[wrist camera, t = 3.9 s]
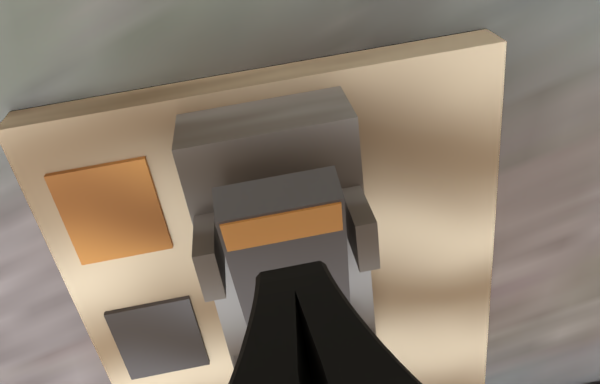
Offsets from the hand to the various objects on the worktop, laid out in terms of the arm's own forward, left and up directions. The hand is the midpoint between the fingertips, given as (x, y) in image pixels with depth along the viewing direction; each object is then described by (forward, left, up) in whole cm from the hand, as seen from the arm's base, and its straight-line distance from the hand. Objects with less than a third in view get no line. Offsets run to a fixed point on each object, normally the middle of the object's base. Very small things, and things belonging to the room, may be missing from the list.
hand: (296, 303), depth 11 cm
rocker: (-2, 0, -4) cm, 4 cm away
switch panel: (-8, 0, -9) cm, 12 cm away
